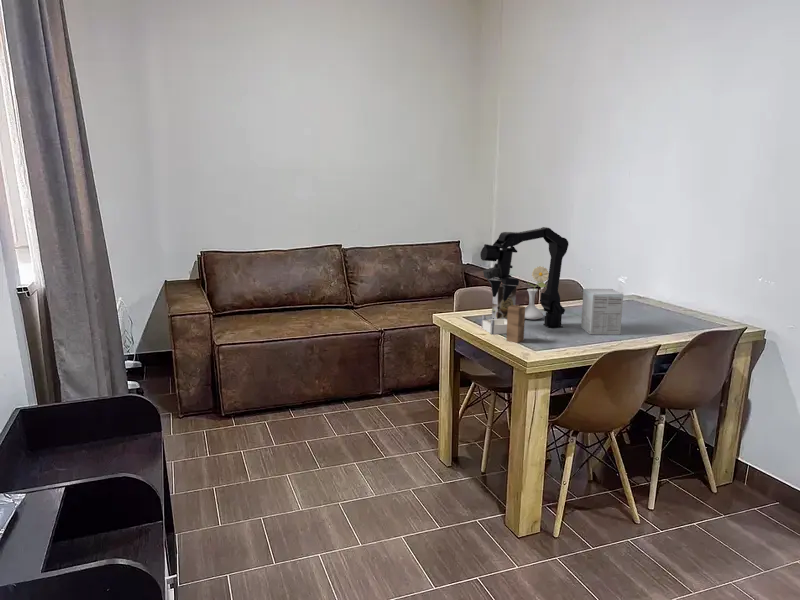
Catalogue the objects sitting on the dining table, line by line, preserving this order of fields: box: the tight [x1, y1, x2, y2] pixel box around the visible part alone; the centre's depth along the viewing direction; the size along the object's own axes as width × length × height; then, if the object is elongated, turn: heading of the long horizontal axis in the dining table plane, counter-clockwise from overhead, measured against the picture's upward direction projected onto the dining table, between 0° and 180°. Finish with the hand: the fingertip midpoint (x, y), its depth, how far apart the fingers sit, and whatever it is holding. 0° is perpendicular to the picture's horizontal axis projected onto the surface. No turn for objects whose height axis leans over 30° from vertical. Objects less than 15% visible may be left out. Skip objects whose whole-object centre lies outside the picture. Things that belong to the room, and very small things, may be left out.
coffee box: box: [491, 284, 517, 319], centre depth 279 cm, size 9×6×16 cm
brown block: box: [505, 304, 526, 344], centre depth 241 cm, size 5×5×14 cm
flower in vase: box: [525, 265, 549, 320], centre depth 280 cm, size 13×11×25 cm
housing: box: [481, 314, 507, 335], centre depth 258 cm, size 11×11×6 cm
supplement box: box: [580, 288, 625, 336], centre depth 258 cm, size 13×13×18 cm
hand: (499, 298), depth 256 cm, fingers open, 9 cm apart
